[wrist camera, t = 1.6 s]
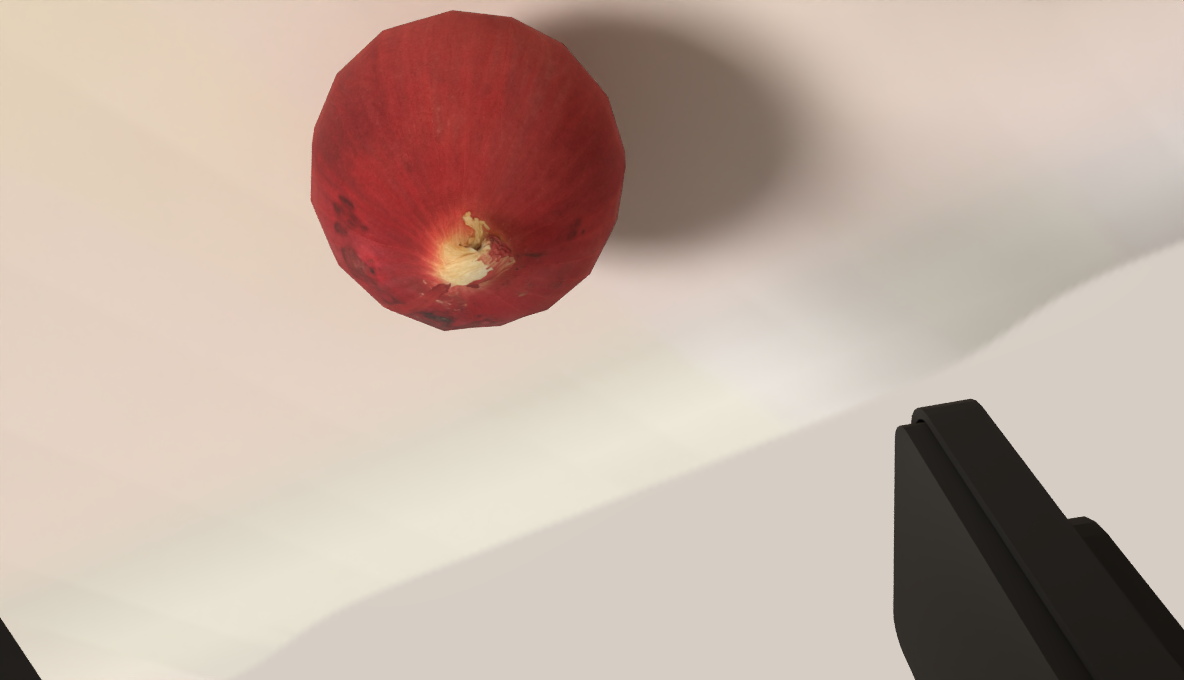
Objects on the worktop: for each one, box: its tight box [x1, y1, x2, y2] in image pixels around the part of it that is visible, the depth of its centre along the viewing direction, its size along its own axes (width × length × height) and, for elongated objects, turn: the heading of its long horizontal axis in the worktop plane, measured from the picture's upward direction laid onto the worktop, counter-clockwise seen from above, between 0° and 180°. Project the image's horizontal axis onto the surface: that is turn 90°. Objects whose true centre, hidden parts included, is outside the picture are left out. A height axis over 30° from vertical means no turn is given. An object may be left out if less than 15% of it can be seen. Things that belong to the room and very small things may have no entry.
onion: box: [311, 10, 626, 331], centre depth 18 cm, size 6×6×8 cm
